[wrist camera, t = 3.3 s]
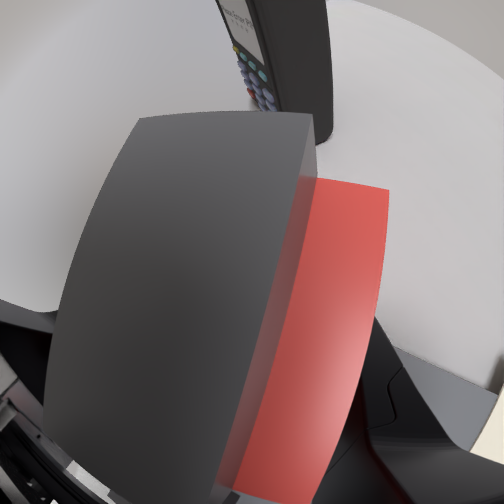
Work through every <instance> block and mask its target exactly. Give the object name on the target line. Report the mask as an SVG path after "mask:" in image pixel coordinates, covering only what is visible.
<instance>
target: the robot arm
mask: <svg viewBox="0 0 504 504" xmlns="http://www.w3.org/2000/svg"><path fill="white" fill-rule="evenodd" d="M57 313H58V310H56V311H52V312H44V313H43V312H34V311H31V310H28V309H25V308H23V307H20V306H17V305H14V304H11V303H9V302H6V301H4V300H1V299H0V504H50V503H51V502H52V501H53V499H54V500H55V501H56V502H57V503H58V504H108V503H107V502H105V501H104V500H103V499H101V498H100V497H98V496H97V495H96V494H95V493H93V492H92V491H91V490H89V489H88V488H87V487H86V486H84V485H83V484H82V483H81V482H80V481H78V480H77V479H76V478H75V477H74V476H73V475H72V474H70V473H69V472H68V471H67V470H66V468H67V467H68V466H69V464H70V463H71V462H72V461H73V459H72V458H71V457H70V456H69V455H68V454H66V453H65V452H64V451H63V450H62V449H61V448H60V447H59V446H58V445H57V444H56V443H55V442H54V441H53V440H52V439H51V438H50V437H49V436H48V435H47V434H46V433H45V432H44V431H43V405H44V392H45V382H46V373H47V366H48V359H49V353H50V347H51V341H52V336H53V331H54V326H55V322H56V317H57ZM403 366H404V365H403V363H402V361H401V359H400V358H399V356H398V354H397V352H396V351H395V349H394V347H393V346H392V344H391V342H390V340H389V339H388V337H387V335H386V334H385V332H384V330H383V329H382V327H381V325H380V324H379V322H378V321H377V319H376V317H375V316H374V321H373V325H372V330H371V335H370V339H369V343H368V347H367V352H366V356H365V359H364V363H363V367H362V371H361V374H360V378H359V381H358V385H357V388H356V391H355V395H354V398H353V401H352V404H351V407H350V410H349V413H348V416H347V419H346V422H345V425H344V427H343V430H342V433H341V435H340V438H339V441H338V443H337V446H336V448H335V451H334V453H333V455H332V458H331V460H330V463H329V465H328V467H327V469H326V472H325V474H324V476H323V478H322V480H321V482H320V485H319V487H318V489H317V491H316V493H315V495H314V497H313V499H312V503H311V504H504V464H501V463H498V462H495V461H493V460H490V459H487V458H484V457H482V456H479V455H476V454H474V453H471V452H469V451H466V450H464V449H462V448H461V447H459V446H458V445H456V444H455V443H454V442H453V441H452V440H451V438H450V437H449V436H448V434H447V433H446V431H445V430H444V428H443V427H442V425H441V424H440V422H439V421H438V419H437V418H436V416H435V415H434V413H433V412H432V410H431V409H430V407H429V406H428V404H427V403H426V401H425V400H424V398H423V397H422V395H421V394H420V392H419V391H418V389H417V387H416V386H415V384H414V382H413V380H412V379H411V377H410V375H409V374H408V372H407V370H406V368H405V367H403Z"/></svg>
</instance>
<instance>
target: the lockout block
mask: <svg viewBox="0 0 504 504" xmlns="http://www.w3.org/2000/svg"><path fill="white" fill-rule="evenodd" d="M388 206H389V190H386V189H381V188H376V187H371V186H366V185H360V184H354V183H349V182H343V181H336V180H330V179H323V178H317V161H316V148H315V136H314V126H313V116H312V114H306V113H292V112H272V111H217V112H198V113H183V114H173V115H163V116H154V117H146V118H140V119H139V120H138V122H137V123H136V125H135V127H134V128H133V130H132V132H131V133H130V135H129V137H128V138H127V140H126V142H125V144H124V145H123V147H122V149H121V151H120V153H119V154H118V156H117V158H116V160H115V162H114V164H113V166H112V168H111V170H110V172H109V174H108V176H107V178H106V180H105V182H104V184H103V186H102V188H101V190H100V192H99V195H98V197H97V199H96V201H95V203H94V206H93V208H92V210H91V213H90V215H89V217H88V220H87V222H86V225H85V227H84V230H83V233H82V235H81V238H80V241H79V244H78V246H77V249H76V252H75V255H74V258H73V261H72V264H71V267H70V270H69V273H68V276H67V279H66V283H65V286H64V290H63V294H62V297H61V301H60V305H59V309H58V313H57V317H56V322H55V326H54V331H53V336H52V341H51V347H50V353H49V359H48V366H47V373H46V382H45V392H44V405H43V431H44V432H45V433H46V434H47V435H48V436H49V437H50V438H51V439H52V440H53V441H54V442H55V443H56V444H57V445H58V446H59V447H60V448H61V449H62V450H63V451H64V452H65V453H66V454H68V455H69V456H70V457H71V458H72V459H73V460H74V461H75V462H76V463H78V464H79V465H80V466H81V467H82V468H84V469H85V470H86V471H87V472H88V473H90V474H91V475H92V476H93V477H95V478H96V479H97V480H99V481H100V482H101V483H103V484H104V485H105V486H107V487H108V488H109V489H111V490H112V491H114V492H115V493H116V494H118V495H119V496H121V497H122V498H124V499H125V500H127V501H128V502H130V503H132V504H222V503H223V502H224V500H225V499H226V498H227V496H228V495H229V494H230V492H231V490H232V489H233V490H236V491H239V492H242V493H245V494H248V495H251V496H255V497H258V498H261V499H265V500H269V501H273V502H277V503H281V504H310V502H311V501H312V499H313V497H314V495H315V493H316V491H317V489H318V487H319V485H320V482H321V480H322V478H323V476H324V474H325V472H326V469H327V467H328V465H329V463H330V460H331V458H332V455H333V453H334V451H335V448H336V446H337V443H338V441H339V438H340V435H341V433H342V430H343V427H344V425H345V422H346V419H347V416H348V413H349V410H350V407H351V404H352V401H353V398H354V395H355V391H356V388H357V385H358V381H359V378H360V374H361V371H362V367H363V363H364V359H365V356H366V352H367V347H368V343H369V339H370V335H371V330H372V325H373V321H374V316H375V310H376V305H377V300H378V294H379V288H380V281H381V275H382V268H383V260H384V252H385V243H386V233H387V221H388Z"/></svg>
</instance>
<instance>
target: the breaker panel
mask: <svg viewBox="0 0 504 504" xmlns="http://www.w3.org/2000/svg"><path fill="white" fill-rule="evenodd" d="M393 347H394V346H393ZM394 349H395V351H396V352H397V354H398V356H399V358H400V359H401V361H402V363H403V365H404V366H403V367H405V368H406V370H407V372H408V374H409V375H410V377H411V379H412V380H413V382H414V384H415V386H416V387H417V389H418V391H419V392H420V394H421V395H422V397H423V398H424V400H425V401H426V403H427V404H428V406H429V407H430V409H431V410H432V412H433V413H434V415H435V416H436V418H437V419H438V421H439V422H440V424H441V425H442V427H443V428H444V430H445V431H446V433H447V434H448V436H449V437H450V438H451V440H452V441H453V442H454V443H455V444H456V445H458V446H459V447H461V448H462V449H464V450H466V451H469V452H471V453H474V454H476V455H479V456H482V457H484V458H487V459H490V460H493V461H495V462H498V463H501V464H504V383H503V386H502V388H501V391H500V393H499V395H497V394H494V393H492V392H490V391H488V390H486V389H483V388H481V387H479V386H477V385H475V384H472V383H470V382H468V381H466V380H464V379H461V378H459V377H457V376H455V375H453V374H451V373H449V372H446V371H444V370H442V369H440V368H438V367H436V366H434V365H432V364H429V363H427V362H425V361H423V360H421V359H419V358H417V357H415V356H413V355H411V354H409V353H407V352H404V351H402V350H400V349H398V348H396V347H394ZM107 496H108V497H110V498H111V499H112V500H113V501H114V502H115V503H116V504H132V503H130V502H128V501H127V500H125V499H124V498H122V497H121V496H119V495H118V494H116V493H115V492H114V491H112V490H110V492H109V493H108V495H107ZM311 503H312V501H311V502H310V504H311ZM222 504H281V503H277V502H273V501H269V500H265V499H261V498H258V497H255V496H251V495H248V494H245V493H242V492H239V491H236V490H233V489H232V490H231V492H230V494H229V495H228V496H227V498H226V499H225V500H224V502H223V503H222Z"/></svg>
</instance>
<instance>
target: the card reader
mask: <svg viewBox="0 0 504 504" xmlns="http://www.w3.org/2000/svg"><path fill="white" fill-rule="evenodd" d="M216 3H217V5H218V8H219V10H220V13H221V15H222V17H223V20H224V23H225V25H226V28H227V30H228V33H229V35H230V38H231V41H232V43H233V50H234V51H235V52H236V54H237V56H238V59H239V61H237V62H238V65H239V67H240V68H241V69H242V70H241V74H242V76H243V77H244V78H245V79H244V82H245V84H246V85H247V87H248V88H247V91H248V93H249V94H250V95H251V97H252V98H253V99H255V100H256V101H257V103H258V105H259V107H260V108H261V110H262V111H272V112H292V113H306V114H312V116H313V126H314V136H315V144H318V143H320V142H323V141H325V140H326V139H327V138H328V137H329V136H330V135H331V133H332V131H333V77H332V61H331V48H330V37H329V27H328V18H327V9H326V2H325V0H216Z"/></svg>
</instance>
